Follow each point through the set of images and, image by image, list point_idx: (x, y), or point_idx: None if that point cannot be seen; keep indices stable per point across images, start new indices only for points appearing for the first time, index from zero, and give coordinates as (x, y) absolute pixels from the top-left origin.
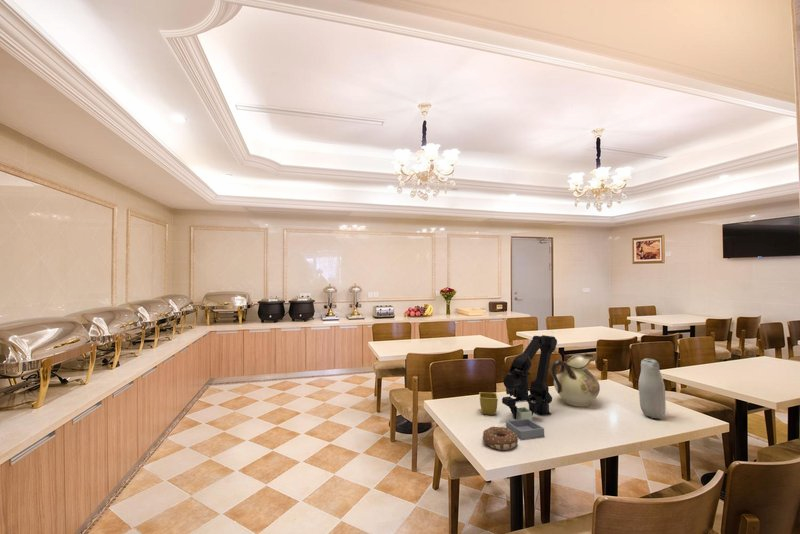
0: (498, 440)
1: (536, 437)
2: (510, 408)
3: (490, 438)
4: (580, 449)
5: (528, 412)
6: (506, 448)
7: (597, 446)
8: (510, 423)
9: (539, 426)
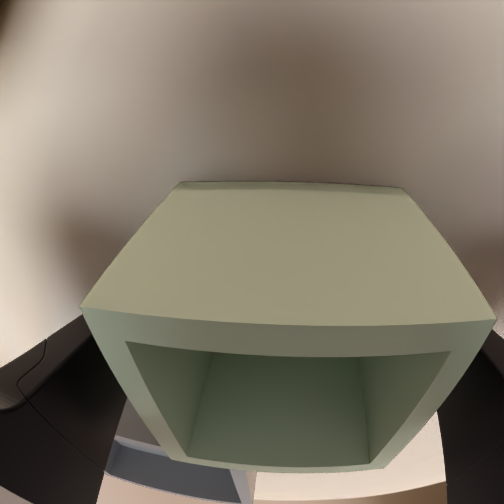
0: None
1: None
2: (4, 386)
3: None
4: (318, 498)
5: (320, 466)
6: None
7: (389, 491)
8: None
9: (241, 499)
